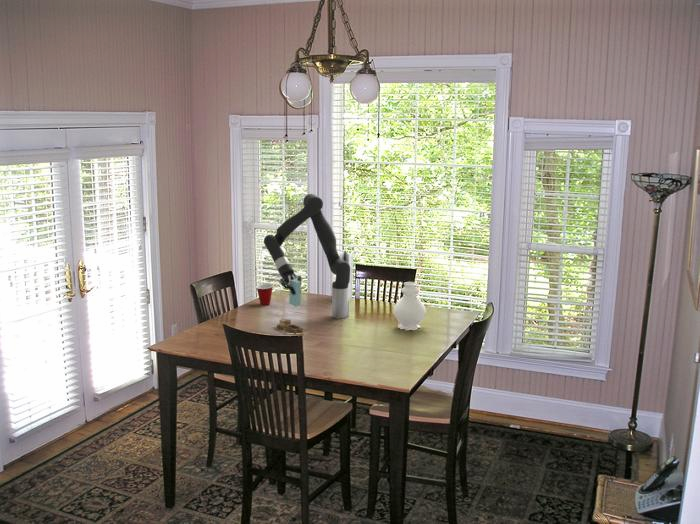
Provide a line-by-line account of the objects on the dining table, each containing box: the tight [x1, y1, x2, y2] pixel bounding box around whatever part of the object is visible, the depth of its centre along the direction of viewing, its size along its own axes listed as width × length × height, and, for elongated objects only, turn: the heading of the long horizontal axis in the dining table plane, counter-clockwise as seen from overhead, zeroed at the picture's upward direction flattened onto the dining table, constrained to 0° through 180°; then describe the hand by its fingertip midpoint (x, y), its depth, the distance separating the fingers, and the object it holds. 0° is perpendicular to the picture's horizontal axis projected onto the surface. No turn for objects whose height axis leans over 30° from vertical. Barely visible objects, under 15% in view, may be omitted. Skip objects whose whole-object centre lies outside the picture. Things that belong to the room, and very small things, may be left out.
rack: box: [272, 323, 315, 336], centre depth 384 cm, size 14×21×3 cm, turn 40°
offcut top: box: [279, 317, 292, 325], centre depth 388 cm, size 5×4×2 cm
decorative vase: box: [393, 281, 427, 331], centre depth 395 cm, size 18×18×25 cm
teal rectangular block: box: [288, 279, 302, 307], centre depth 379 cm, size 3×6×13 cm, turn 40°
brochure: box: [339, 249, 354, 301], centre depth 455 cm, size 14×6×30 cm, turn 168°
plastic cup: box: [255, 283, 274, 307], centre depth 437 cm, size 11×11×12 cm
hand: (297, 293), depth 378 cm, fingers closed on teal rectangular block, 3 cm apart
